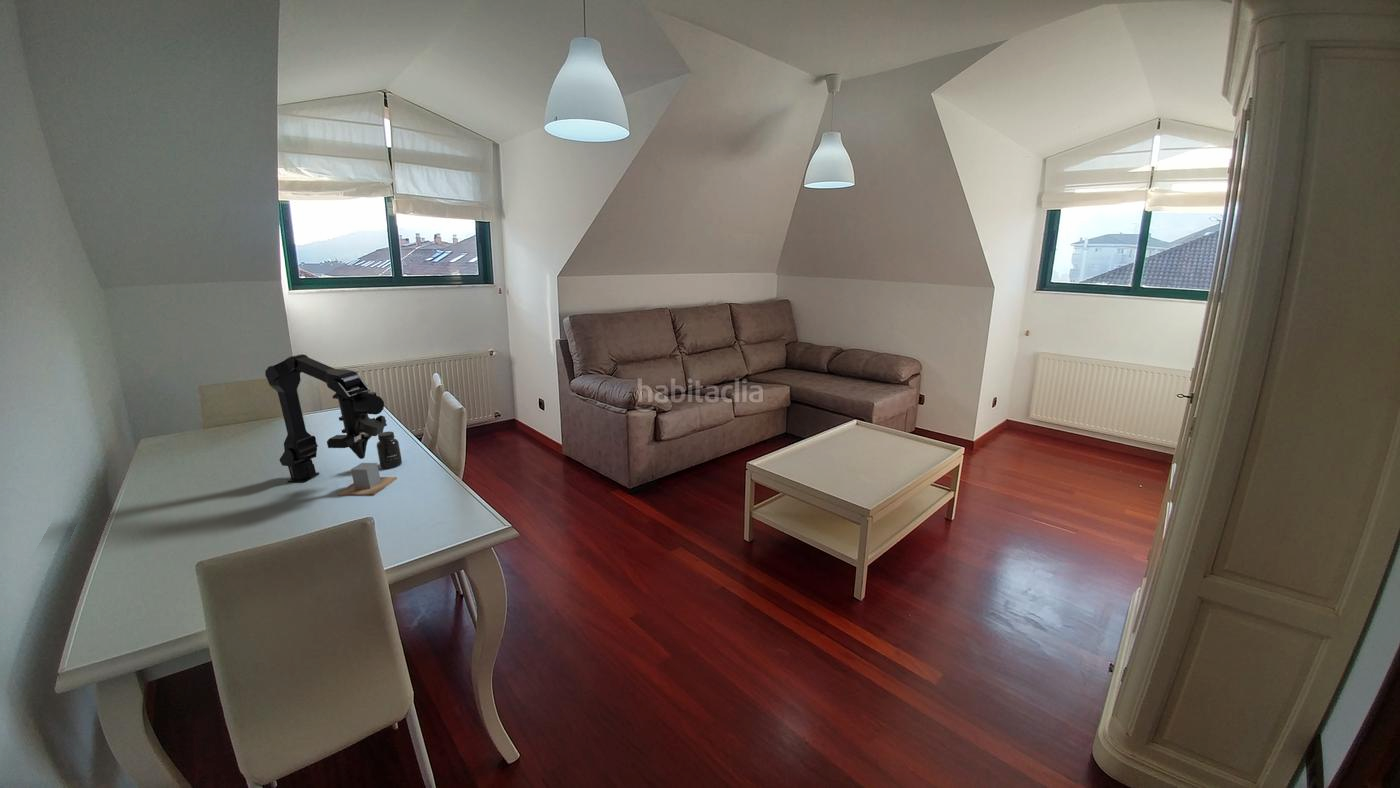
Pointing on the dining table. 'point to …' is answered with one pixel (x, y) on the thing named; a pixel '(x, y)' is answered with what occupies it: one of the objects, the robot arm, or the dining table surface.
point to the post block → (374, 490)
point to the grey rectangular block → (365, 475)
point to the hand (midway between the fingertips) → (362, 458)
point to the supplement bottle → (388, 450)
